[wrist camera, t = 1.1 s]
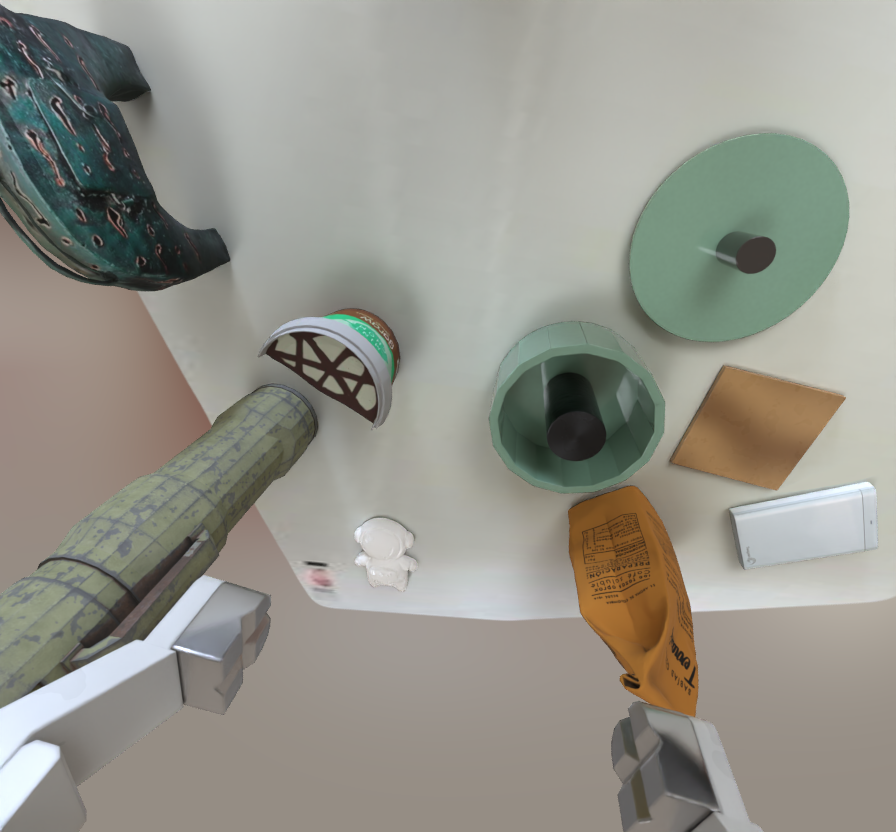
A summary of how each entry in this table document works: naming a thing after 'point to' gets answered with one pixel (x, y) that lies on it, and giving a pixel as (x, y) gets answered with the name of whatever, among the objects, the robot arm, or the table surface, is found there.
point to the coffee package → (635, 596)
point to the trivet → (754, 427)
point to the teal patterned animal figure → (85, 162)
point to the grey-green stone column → (147, 544)
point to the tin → (573, 418)
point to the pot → (618, 397)
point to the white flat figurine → (385, 552)
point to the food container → (342, 358)
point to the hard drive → (806, 526)
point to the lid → (739, 237)
